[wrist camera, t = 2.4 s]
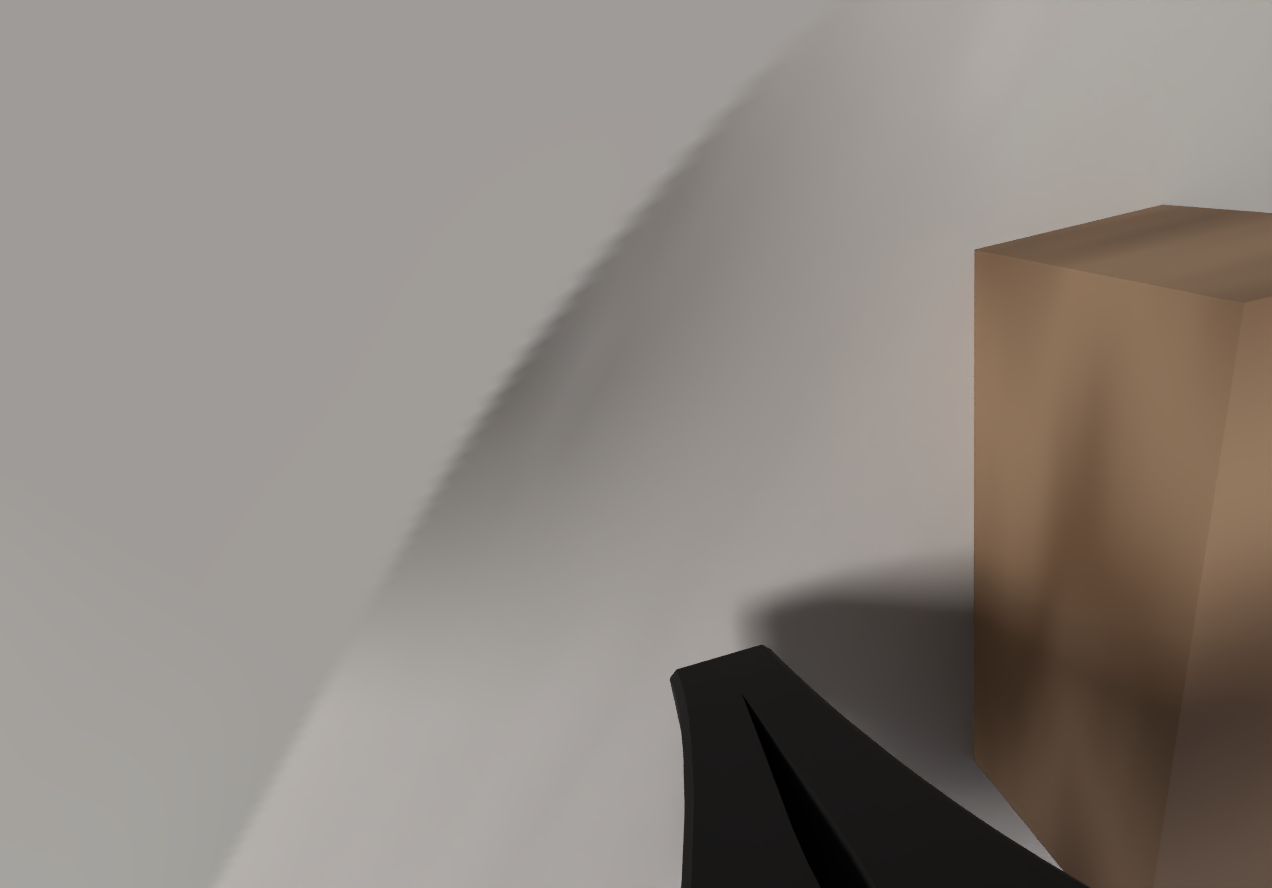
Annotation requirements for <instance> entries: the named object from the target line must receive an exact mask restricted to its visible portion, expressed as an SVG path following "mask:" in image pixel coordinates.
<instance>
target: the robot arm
mask: <svg viewBox="0 0 1272 888" xmlns="http://www.w3.org/2000/svg"><path fill="white" fill-rule="evenodd" d="M670 682H671V687H672V691H673V696H674V700H675V705H676V710H677V714H678V719H679V723H680V728H681V733H682V744H683V758H684V799H685V815H684V841H683V864H682V884H681V888H1090V887H1089V886H1087V885H1085V884H1084V883H1082V882H1080V881H1078V880H1077V879H1075V878H1073V877H1072V876H1070V875H1068V874H1067V873H1065V872H1063V871H1062V870H1060V869H1058V868H1057V867H1055V866H1053V865H1052V864H1050V863H1048V862H1046V861H1045V860H1043V859H1041V858H1040V857H1038V856H1037V855H1035V854H1034V853H1032V852H1030V851H1029V850H1027V849H1026V848H1024V847H1022V846H1021V845H1019V844H1018V843H1016V842H1015V841H1013V840H1011V839H1010V838H1008V837H1007V836H1005V835H1003V834H1002V833H1000V832H999V831H997V830H996V829H994V828H993V827H991V826H990V825H988V824H987V823H985V822H984V821H982V820H981V819H979V818H978V817H976V816H975V815H973V814H972V813H970V812H969V811H967V810H966V809H965V808H963V807H962V806H960V805H959V804H957V803H956V802H954V801H953V800H952V799H950V798H949V797H947V796H946V795H945V794H943V793H942V792H940V791H939V790H938V789H936V788H935V787H934V786H932V785H931V784H929V783H928V782H927V781H925V780H924V779H922V778H921V777H920V776H918V775H917V774H916V773H914V772H913V771H912V770H910V769H909V768H908V767H906V766H905V765H904V764H902V763H901V762H900V761H899V760H897V759H896V758H895V757H893V756H892V755H891V754H889V753H888V752H887V751H886V750H884V749H883V748H882V747H881V746H879V745H878V744H877V743H876V742H874V741H873V740H872V739H871V738H870V737H868V736H867V735H866V734H865V733H863V732H862V731H861V730H860V729H858V728H857V727H856V726H855V725H853V724H852V723H851V722H850V721H849V720H847V719H846V718H845V717H844V716H843V715H841V714H840V713H839V712H838V711H837V710H836V709H834V708H833V707H832V706H831V705H830V704H829V703H828V702H826V701H825V700H824V699H823V698H822V697H821V696H820V695H818V694H817V693H816V692H815V691H814V690H813V689H812V688H811V687H809V686H808V685H807V684H806V683H805V682H804V681H803V680H802V679H801V678H800V677H799V676H798V675H796V674H795V673H794V672H793V671H792V670H791V669H790V668H789V667H788V666H787V665H786V664H785V663H784V662H783V661H782V660H781V659H780V658H779V657H778V656H777V655H776V654H775V653H774V652H773V651H772V650H771V649H769V648H767V647H766V646H764V645H759V646H755V647H752V648H749V649H745V650H742V651H738V652H735V653H731V654H728V655H725V656H721V657H718V658H714V659H711V660H708V661H704V662H701V663H697V664H694V665H690V666H687V667H684V668H680V669H677V670H676V671H675V672H674V674H673V675H672V676H671V678H670Z"/></svg>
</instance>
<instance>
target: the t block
mask: <svg viewBox="0 0 1272 888" xmlns="http://www.w3.org/2000/svg"><path fill="white" fill-rule="evenodd" d="M974 761H975V762H976V763H977V764H978V766H979V767H980V768H981V769H982V771H983V772H984V773H985V774H986V776H987V777H988V778H989V779H990V781H991V782H992V783H993V784H994V786H995V787H996V788H997V789H998V790H999V792H1000V793H1001V794H1002V795H1003V797H1004V798H1005V799H1006V800H1007V802H1008V803H1009V804H1010V805H1011V807H1012V808H1013V809H1014V810H1015V812H1016V813H1017V814H1018V815H1019V816H1020V818H1021V819H1022V820H1023V821H1024V823H1025V824H1026V825H1027V826H1028V828H1029V829H1030V830H1031V831H1032V833H1033V834H1034V835H1035V836H1036V838H1037V839H1038V840H1039V841H1040V842H1041V844H1042V845H1043V846H1044V847H1045V849H1046V850H1047V851H1048V852H1049V854H1050V855H1051V856H1052V857H1053V859H1054V860H1055V861H1056V862H1057V864H1058V865H1059V866H1060V867H1061V868H1062V870H1063V871H1064V872H1065V873H1067V874H1068V875H1070V876H1072V877H1073V878H1075V879H1077V880H1078V881H1080V882H1082V883H1084V884H1085V885H1087V886H1089V887H1090V888H1272V213H1263V212H1250V211H1237V210H1224V209H1211V208H1198V207H1185V206H1172V205H1160V206H1155V207H1151V208H1147V209H1143V210H1139V211H1134V212H1130V213H1126V214H1122V215H1118V216H1114V217H1109V218H1105V219H1101V220H1097V221H1093V222H1088V223H1084V224H1080V225H1076V226H1072V227H1068V228H1063V229H1059V230H1055V231H1051V232H1047V233H1043V234H1038V235H1034V236H1030V237H1026V238H1022V239H1017V240H1013V241H1009V242H1005V243H1001V244H997V245H992V246H988V247H984V248H980V249H976V250H975V283H974Z"/></svg>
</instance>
